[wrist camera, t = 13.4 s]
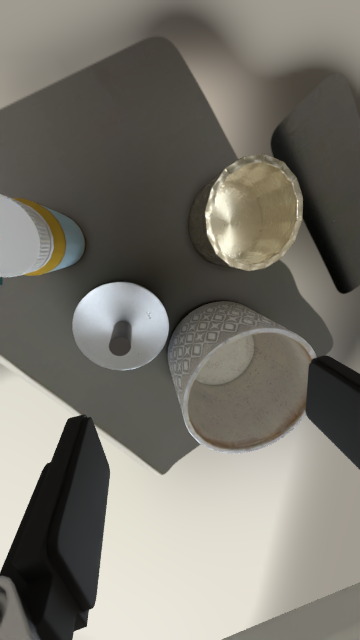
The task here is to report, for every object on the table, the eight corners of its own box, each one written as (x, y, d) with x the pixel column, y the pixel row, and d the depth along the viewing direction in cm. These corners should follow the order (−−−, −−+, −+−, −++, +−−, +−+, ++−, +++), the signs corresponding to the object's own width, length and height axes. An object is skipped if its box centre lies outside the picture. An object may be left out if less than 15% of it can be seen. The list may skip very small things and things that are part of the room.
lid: (60, 290, 29) (39, 303, 23) (159, 273, 31) (166, 280, 25) (89, 375, 34) (78, 405, 28) (174, 355, 36) (183, 380, 29)
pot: (183, 182, 31) (200, 160, 23) (264, 172, 33) (305, 149, 25) (194, 270, 36) (211, 278, 28) (265, 258, 37) (300, 261, 29)
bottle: (95, 256, 32) (63, 264, 18) (49, 273, 32) (-19, 295, 18) (70, 206, 30) (12, 170, 16) (20, 224, 29) (-86, 204, 15)
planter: (192, 405, 44) (217, 474, 31) (147, 331, 37) (154, 378, 24) (272, 361, 44) (332, 410, 31) (242, 280, 38) (302, 298, 24)
